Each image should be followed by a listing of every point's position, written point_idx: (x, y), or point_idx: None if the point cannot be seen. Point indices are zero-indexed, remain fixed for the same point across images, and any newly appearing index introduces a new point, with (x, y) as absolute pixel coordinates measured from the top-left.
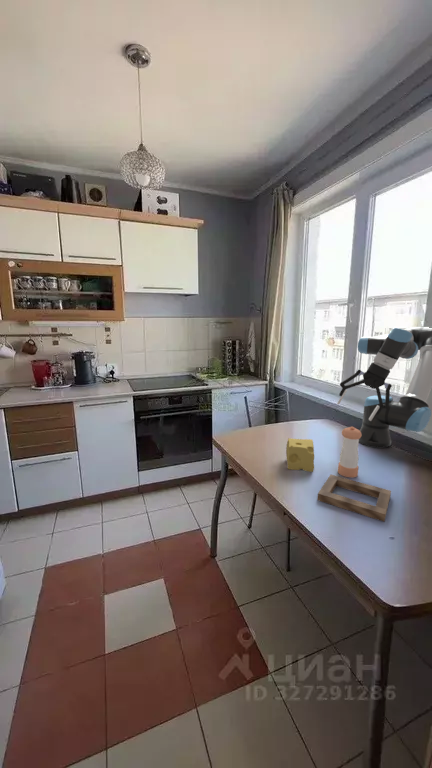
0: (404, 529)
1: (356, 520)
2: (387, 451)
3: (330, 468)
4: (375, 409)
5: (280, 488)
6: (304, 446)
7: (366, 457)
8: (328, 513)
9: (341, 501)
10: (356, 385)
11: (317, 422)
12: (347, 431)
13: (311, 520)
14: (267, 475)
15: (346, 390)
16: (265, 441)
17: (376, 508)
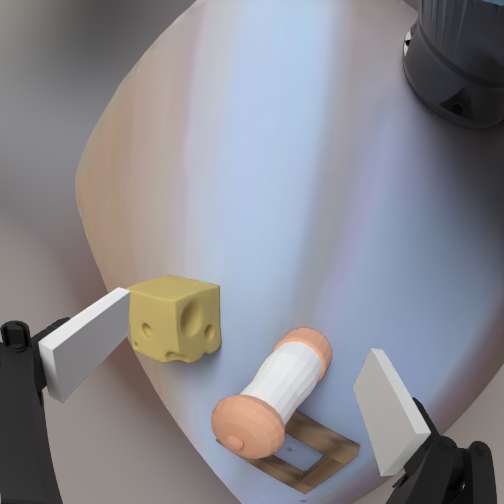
0: (330, 496)
1: (270, 476)
2: (494, 160)
3: (265, 326)
4: (380, 441)
5: (171, 392)
6: (158, 352)
7: (407, 229)
8: (235, 458)
9: (249, 461)
10: (58, 491)
11: None
12: (220, 441)
13: (213, 461)
14: None
15: (54, 382)
16: (131, 168)
17: (297, 484)
